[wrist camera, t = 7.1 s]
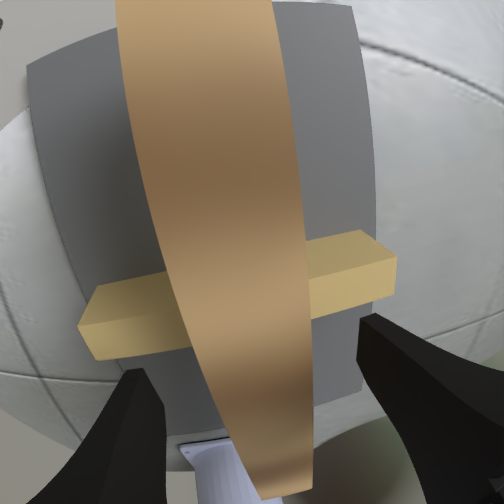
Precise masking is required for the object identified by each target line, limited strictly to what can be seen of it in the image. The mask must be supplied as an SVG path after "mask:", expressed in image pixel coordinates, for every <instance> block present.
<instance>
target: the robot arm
mask: <svg viewBox="0 0 504 504" xmlns="http://www.w3.org/2000/svg"><path fill="white" fill-rule="evenodd" d="M356 362H357V364H358V366H359V368H360V370H361V373H362V375H363V377H364V379H365V381H366V383H367V385H368V386H369V388H370V389H371V391H372V393H373V394H374V396H375V397H376V399H377V400H378V402H379V403H380V405H381V406H382V408H383V410H384V411H385V413H386V414H387V416H388V417H389V419H390V420H391V422H392V423H393V425H394V427H395V428H396V430H397V432H398V433H399V435H400V437H401V438H402V441H403V443H404V445H405V447H406V449H407V452H408V454H409V456H410V458H411V461H412V463H413V465H414V468H415V470H416V473H417V475H418V478H419V481H420V484H421V487H422V490H423V492H424V496H425V499H426V502H427V504H504V371H499V370H496V369H492V368H489V367H485V366H482V365H479V364H477V363H474V362H471V361H468V360H466V359H463V358H461V357H458V356H456V355H454V354H452V353H449V352H447V351H445V350H443V349H441V348H439V347H437V346H435V345H433V344H431V343H429V342H427V341H425V340H423V339H421V338H420V337H418V336H416V335H414V334H412V333H410V332H409V331H407V330H405V329H403V328H402V327H400V326H398V325H396V324H395V323H393V322H391V321H389V320H388V319H386V318H384V317H382V316H380V315H378V314H377V313H373V314H370V315H367V316H364V317H361V318H360V320H359V333H358V345H357V355H356ZM166 439H167V430H166V417H165V407H164V404H163V402H162V400H161V399H160V397H159V395H158V394H157V392H156V390H155V388H154V387H153V385H152V383H151V381H150V380H149V378H148V376H147V374H146V372H145V370H144V369H143V368H136V369H129V370H126V371H125V373H124V374H123V376H122V378H121V379H120V381H119V383H118V384H117V386H116V388H115V390H114V391H113V393H112V395H111V396H110V398H109V400H108V402H107V403H106V405H105V407H104V408H103V410H102V412H101V413H100V415H99V417H98V418H97V420H96V422H95V423H94V425H93V426H92V428H91V430H90V431H89V433H88V434H87V436H86V437H85V439H84V440H83V442H82V443H81V445H80V446H79V448H78V449H77V450H76V452H75V453H74V454H73V456H72V457H71V458H70V459H69V461H68V462H67V463H66V464H65V466H64V467H63V468H62V469H61V470H60V471H59V473H58V474H57V475H56V476H55V477H54V478H53V479H52V480H51V481H50V482H49V483H48V484H47V485H46V487H44V488H43V490H41V491H40V492H39V493H38V494H37V495H36V496H35V497H34V498H32V499H31V500H30V501H29V502H28V503H26V504H167V499H166ZM180 451H181V453H182V454H183V455H184V456H185V458H186V459H187V460H188V461H189V463H190V464H191V465H192V466H193V468H194V469H195V476H196V487H197V497H198V504H283V502H282V499H281V497H277V498H273V499H268V500H263V501H261V499H260V497H259V495H258V493H257V491H256V489H255V487H254V485H253V484H252V482H251V480H250V478H249V476H248V474H247V472H246V470H245V468H244V466H243V464H242V462H241V460H240V457H239V455H238V453H237V451H236V449H235V447H234V445H233V443H232V440H231V438H226V439H220V440H214V441H207V442H200V443H192V444H184V445H181V446H180Z"/></svg>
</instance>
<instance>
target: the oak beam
mask: <svg viewBox="0 0 504 504" xmlns="http://www.w3.org/2000/svg"><path fill="white" fill-rule="evenodd" d="M115 10H116V22H117V33H118V42H119V51H120V59H121V67H122V74H123V81H124V87H125V94H126V100H127V106H128V112H129V117H130V123H131V128H132V133H133V138H134V143H135V148H136V153H137V157H138V162H139V167H140V171H141V175H142V180H143V184H144V188H145V192H146V196H147V200H148V204H149V208H150V212H151V216H152V220H153V223H154V227H155V231H156V234H157V238H158V242H159V245H160V249H161V252H162V255H163V259H164V262H165V265H166V269H167V272H168V275H169V279H170V282H171V285H172V288H173V291H174V294H175V297H176V300H177V303H178V306H179V309H180V312H181V315H182V318H183V321H184V324H185V327H186V330H187V332H188V335H189V338H190V341H191V343H192V346H193V349H194V351H195V354H196V357H197V359H198V362H199V365H200V367H201V370H202V372H203V375H204V377H205V380H206V382H207V385H208V387H209V390H210V392H211V395H212V397H213V400H214V402H215V404H216V407H217V409H218V411H219V414H220V416H221V418H222V420H223V423H224V425H225V427H226V429H227V432H228V434H229V436H230V438H231V440H232V443H233V445H234V447H235V449H236V451H237V453H238V455H239V457H240V460H241V462H242V464H243V466H244V468H245V470H246V472H247V474H248V476H249V478H250V480H251V482H252V484H253V485H254V487H255V489H256V491H257V493H258V495H259V497H260V499H261V501H263V500H268V499H273V498H277V497H281V496H286V495H289V494H293V493H297V492H301V491H304V490H308V489H312V476H313V358H312V331H311V311H310V293H309V277H308V263H307V250H306V238H305V227H304V216H303V206H302V196H301V187H300V178H299V169H298V161H297V153H296V145H295V137H294V130H293V123H292V115H291V109H290V102H289V95H288V89H287V83H286V76H285V70H284V65H283V59H282V53H281V48H280V42H279V37H278V31H277V26H276V21H275V16H274V11H273V6H272V2H271V0H115Z"/></svg>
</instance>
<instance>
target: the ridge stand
mask: <svg viewBox="0 0 504 504" xmlns="http://www.w3.org/2000/svg"><path fill="white" fill-rule="evenodd" d="M272 6H273V11H274V16H275V21H276V26H277V31H278V37H279V42H280V48H281V53H282V59H283V65H284V70H285V76H286V83H287V89H288V95H289V102H290V109H291V115H292V123H293V130H294V137H295V145H296V153H297V161H298V169H299V178H300V187H301V196H302V206H303V216H304V227H305V238H306V250H307V263H308V277H309V293H310V311H311V331H312V358H313V407H314V406H317V405H320V404H323V403H326V402H330V401H333V400H336V399H339V398H341V397H344V396H347V395H350V394H353V393H355V392H358V391H361V389H362V383H363V375H362V373H361V370H360V368H359V366H358V364H357V362H356V355H357V345H358V333H359V320H360V318H361V317H364V316H367V315H370V314H371V313H372V302H373V301H375V300H378V299H381V298H384V297H387V296H390V295H393V294H394V288H395V279H396V268H397V256H396V255H395V254H394V253H392V252H391V251H390V250H388V249H387V248H385V247H384V246H383V245H381V244H380V243H379V242H377V241H376V192H375V167H374V151H373V138H372V126H371V116H370V108H369V99H368V92H367V84H366V78H365V71H364V65H363V59H362V54H361V48H360V43H359V38H358V33H357V28H356V24H355V20H354V15H353V11H352V7H351V6H346V5H337V4H326V3H311V2H272ZM26 72H27V84H28V94H29V103H30V110H31V117H32V124H33V130H34V136H35V141H36V146H37V151H38V156H39V160H40V165H41V169H42V173H43V177H44V181H45V185H46V189H47V193H48V196H49V200H50V203H51V207H52V210H53V213H54V217H55V220H56V223H57V226H58V229H59V232H60V235H61V238H62V241H63V244H64V246H65V249H66V252H67V254H68V257H69V260H70V262H71V265H72V267H73V270H74V272H75V275H76V277H77V280H78V282H79V284H80V287H81V289H82V291H83V294H84V296H85V298H86V300H87V303H88V305H87V307H86V309H85V311H84V313H83V315H82V317H81V319H80V321H79V323H78V326H77V327H78V329H79V331H80V333H81V335H82V337H83V339H84V340H85V342H86V344H87V346H88V348H89V349H90V351H91V353H92V354H93V356H94V358H95V360H96V361H101V360H109V359H116V360H117V361H118V363H119V365H120V367H121V368H122V370H123V372H124V373H125V371H126V370H129V369H136V368H143V369H144V370H145V372H146V374H147V376H148V378H149V380H150V381H151V383H152V385H153V387H154V388H155V390H156V392H157V394H158V395H159V397H160V399H161V400H162V402H163V404H164V407H165V417H166V430H167V436H170V435H180V434H188V433H195V432H202V431H209V430H215V429H221V428H226V427H225V425H224V423H223V420H222V418H221V416H220V414H219V411H218V409H217V407H216V404H215V402H214V400H213V397H212V395H211V392H210V390H209V387H208V385H207V382H206V380H205V377H204V375H203V372H202V370H201V367H200V365H199V362H198V359H197V357H196V354H195V351H194V349H193V346H192V343H191V341H190V338H189V335H188V332H187V330H186V327H185V324H184V321H183V318H182V315H181V312H180V309H179V306H178V303H177V300H176V297H175V294H174V291H173V288H172V285H171V282H170V279H169V275H168V272H167V269H166V265H165V262H164V259H163V255H162V252H161V249H160V245H159V242H158V238H157V234H156V231H155V227H154V223H153V220H152V216H151V212H150V208H149V204H148V200H147V196H146V192H145V188H144V184H143V180H142V175H141V171H140V167H139V162H138V157H137V153H136V148H135V143H134V138H133V133H132V128H131V123H130V117H129V112H128V106H127V100H126V94H125V87H124V81H123V74H122V67H121V59H120V51H119V42H118V33H117V27H116V28H113V29H109V30H107V31H104V32H101V33H98V34H95V35H92V36H90V37H87V38H84V39H82V40H79V41H77V42H74V43H72V44H70V45H67V46H65V47H63V48H61V49H58V50H56V51H54V52H52V53H50V54H48V55H46V56H44V57H41V58H39V59H38V60H36V61H34V62H32V63H30V64H28V65H26Z"/></svg>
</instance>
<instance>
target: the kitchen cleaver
mask: <svg viewBox="0 0 504 504" xmlns="http://www.w3.org/2000/svg"><path fill="white" fill-rule="evenodd" d="M0 19H2V20H3V26H2V28H1V30H0V131H1V130H2V129H3V128H4V127H5V126H6V125H7V124H8V123H9V122H11V121H12V120H13V119H14V118H15V117H16V116H17V115H19V114H20V113H21V112H22V111H23V110H25V109H26V108H27V107H28V106H29V105H30V103H29V94H28V84H27V72H26V65H28V64H30V63H32V62H34V61H36V60H38V59H39V58H41V57H44V56H46V55H48V54H50V53H52V52H54V51H56V50H58V49H61V48H63V47H65V46H67V45H70V44H72V43H74V42H77V41H79V40H82V39H84V38H87V37H90V36H92V35H95V34H98V33H101V32H104V31H107V30H109V29H113V28H116V27H117V22H116V10H115V0H2V1H1V2H0Z"/></svg>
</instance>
